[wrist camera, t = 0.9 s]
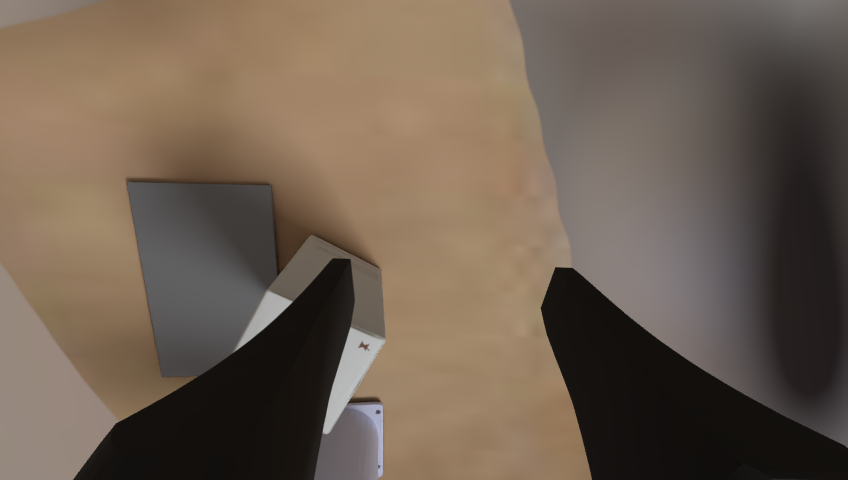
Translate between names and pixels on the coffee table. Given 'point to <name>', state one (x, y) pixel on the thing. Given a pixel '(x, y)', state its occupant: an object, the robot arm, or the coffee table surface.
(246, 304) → the mat
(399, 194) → the coffee table surface
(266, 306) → the supplement box
